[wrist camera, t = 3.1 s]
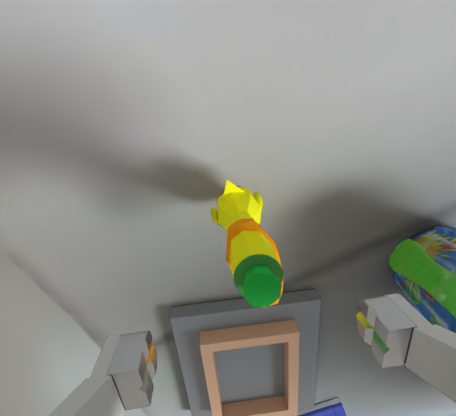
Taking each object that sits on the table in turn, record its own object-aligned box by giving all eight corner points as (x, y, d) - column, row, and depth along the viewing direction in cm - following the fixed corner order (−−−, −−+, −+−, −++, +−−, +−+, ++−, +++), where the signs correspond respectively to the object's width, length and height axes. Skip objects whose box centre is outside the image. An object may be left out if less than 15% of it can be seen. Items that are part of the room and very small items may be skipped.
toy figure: (268, 229, 23) (326, 351, 12) (229, 242, 23) (250, 374, 12) (243, 156, 20) (289, 224, 9) (200, 172, 20) (194, 257, 9)
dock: (314, 289, 26) (328, 311, 23) (309, 394, 32) (319, 422, 29) (171, 306, 25) (167, 332, 22) (194, 410, 31) (193, 440, 29)
